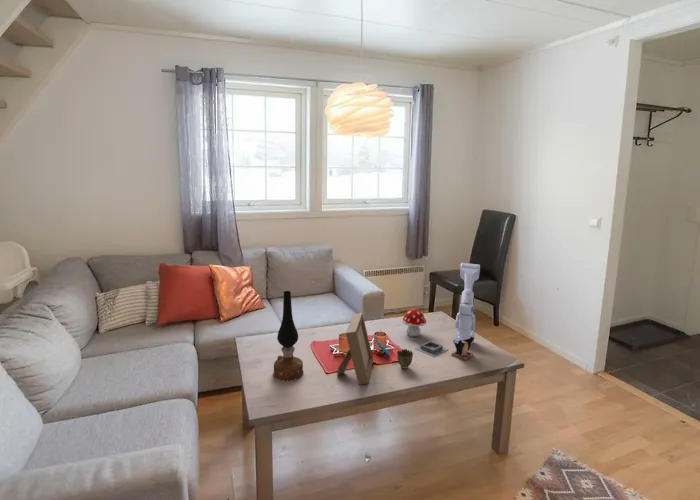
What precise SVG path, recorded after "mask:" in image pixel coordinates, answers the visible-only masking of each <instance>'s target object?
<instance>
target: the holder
mask: <svg viewBox="0 0 700 500" xmlns="http://www.w3.org/2000/svg"><path fill="white" fill-rule="evenodd" d="M449 356H450V357H452V358H454V359H456V360H459V361H461V362H463V363H466V362H469V361H470V360H472V359H474V358H475V357H476V355H474V353H473V352H469V351H467V357H465V358H464V357H462V356H459V355H458V354H457V351H456V350H455V351H454V352H452V353H450V354H449Z"/></svg>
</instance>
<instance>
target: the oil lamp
mask: <svg viewBox="0 0 700 500" xmlns="http://www.w3.org/2000/svg"><path fill="white" fill-rule="evenodd" d="M277 332H278V333H277V337H276V339H277V342H278V343H279V345H280V346H282V347H281V352H282V354H283V355H278V356H277V359H276V360H275V361H274V362H273V373H272V374H273V377H274V378H275V379H276V378H277V379H276V380H278V379H279V380H278V381H281V380H285V381H284V382H292V381H296V380H299V379H300V378H302V377H303V375H304V369H303V366H304V365H303V361H302V359H301V358H299V357H296V356H294V352H295V349H296V348H295V344H296V343H297V342H298V340H299V333H298V330H297V327H296V325H295V322H294V319H293V307H292V295H291V291H290V290H285V291H283V307H282V321H281V323H280V327H279V329H278V331H277ZM295 379H296V380H295ZM287 380H288V381H287ZM291 380H292V381H291Z"/></svg>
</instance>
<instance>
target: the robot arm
mask: <svg viewBox="0 0 700 500" xmlns="http://www.w3.org/2000/svg"><path fill="white" fill-rule="evenodd" d="M459 269H460V271H459V275H460V279H462V280H463V281H464V290H463V291H461V299H460V303H459V309H458V310H459V311H458V312H457V314H456V317H455V329H457V332H456V337H454V338H453V341H452V342H453V345H454V347H455V351H457V354H459V355H461V354H462V350H463V347H464V345H465V343H462V341H465V342H467V343H468V350H467V352H469V350H470V348H471V345H472V344H474V342H475V336H476V335H475V328H476V315H475V314H474V309H475V308H474V296H475V293H474V291H473V287H474V283H475V281H478V280H479V278H480V273H481V264H477V263H476V264H475V263H467V262H461V263H460V268H459Z"/></svg>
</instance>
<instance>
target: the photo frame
mask: <svg viewBox="0 0 700 500" xmlns="http://www.w3.org/2000/svg"><path fill="white" fill-rule="evenodd" d="M364 318H365V317H364V314H363V312H358V313H354V314H353V315H352V318H350V322H349V324H348V327H347V329H346V331H345V336H346V340H347V343H348V347H349V349H348V350H347V352H346V354H345V356H344V358H343V359H342V361H341V362H340V364H339V366H338V367H337V373H336V376H337V377H340V376H341V375H344V374H345V372H346V369H347V366H348V365H349V363H350V360H351V359H352V363H353V364H352V365H353V368H354V371H355V375H356V380H357V385H367V384H369V380H370V376H371V372H372V368H373V363H374V357H373V353H372V347H371V344H370V340H369V336H368V331H367V327H366V323H365V319H364ZM339 375H340V376H339Z"/></svg>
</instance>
